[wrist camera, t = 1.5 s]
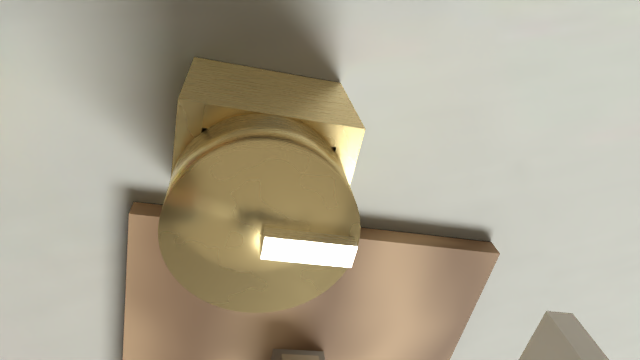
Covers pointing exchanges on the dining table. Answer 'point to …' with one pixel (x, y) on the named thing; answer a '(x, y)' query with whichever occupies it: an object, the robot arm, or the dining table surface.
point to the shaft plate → (312, 304)
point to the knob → (260, 187)
